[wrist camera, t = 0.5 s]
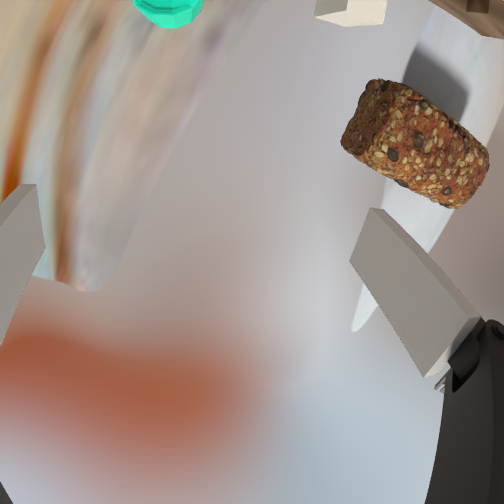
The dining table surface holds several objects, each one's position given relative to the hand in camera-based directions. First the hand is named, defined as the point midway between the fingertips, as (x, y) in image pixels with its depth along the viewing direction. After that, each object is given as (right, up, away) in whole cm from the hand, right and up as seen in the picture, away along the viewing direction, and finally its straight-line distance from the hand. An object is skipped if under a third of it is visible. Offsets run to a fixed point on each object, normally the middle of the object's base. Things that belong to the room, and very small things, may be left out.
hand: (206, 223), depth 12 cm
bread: (+22, +15, +27) cm, 37 cm away
